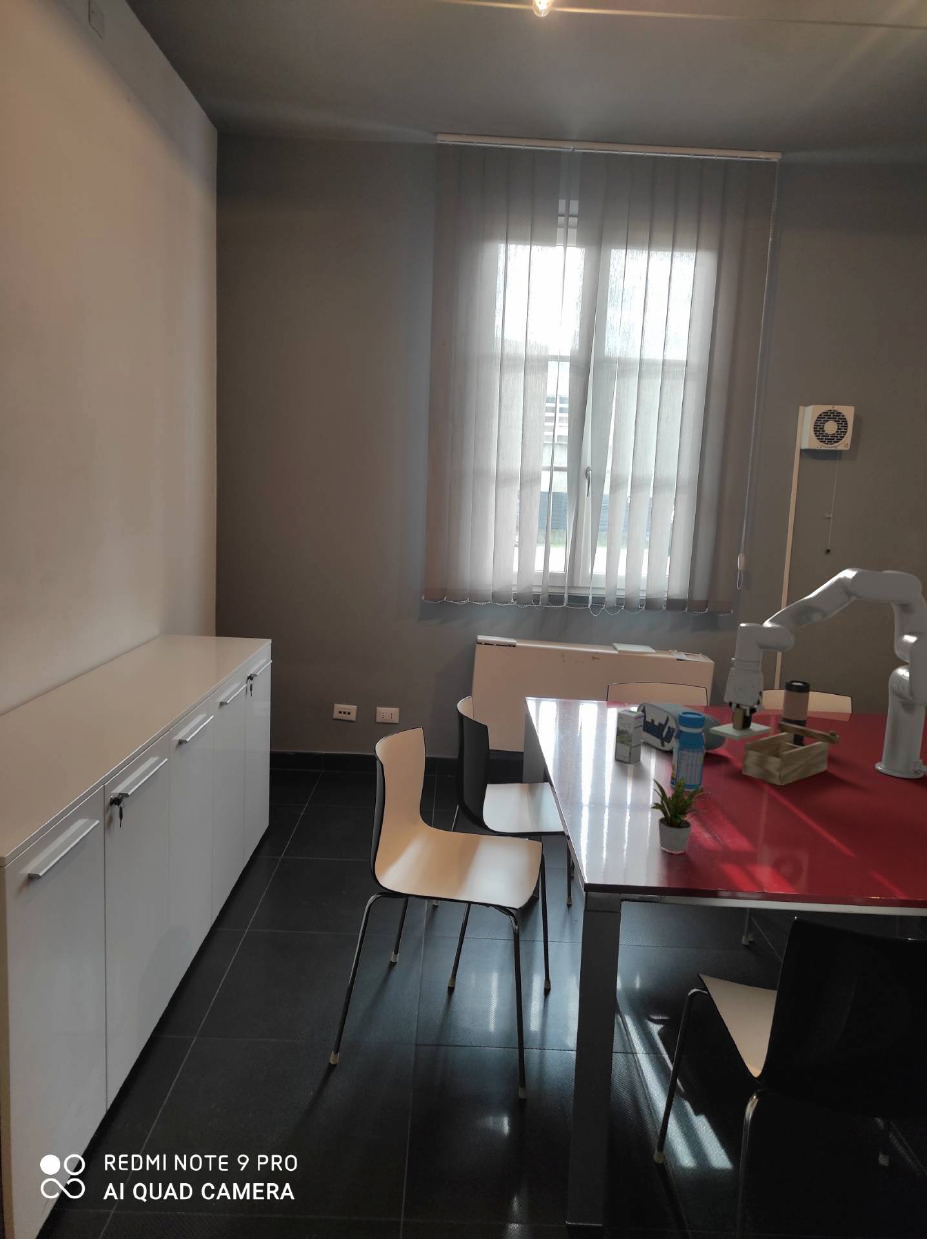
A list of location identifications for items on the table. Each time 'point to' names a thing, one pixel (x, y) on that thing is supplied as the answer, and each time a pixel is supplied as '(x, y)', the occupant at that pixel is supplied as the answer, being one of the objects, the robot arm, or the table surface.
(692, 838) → the table surface
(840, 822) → the table surface
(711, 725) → the grey hat
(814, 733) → the wooden bar
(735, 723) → the lid
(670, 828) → the house plant
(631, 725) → the syrup box
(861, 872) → the table surface
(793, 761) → the toolbox
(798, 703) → the travel mug
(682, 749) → the beverage bottle
